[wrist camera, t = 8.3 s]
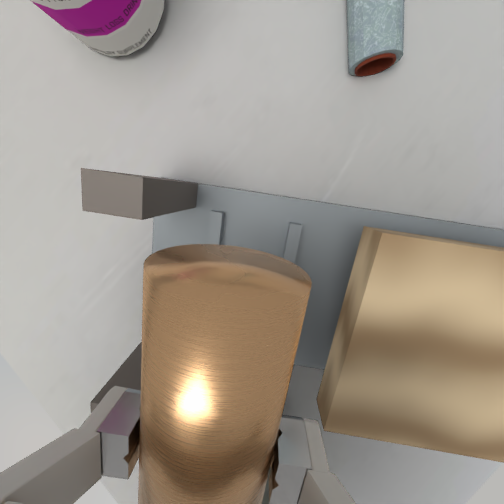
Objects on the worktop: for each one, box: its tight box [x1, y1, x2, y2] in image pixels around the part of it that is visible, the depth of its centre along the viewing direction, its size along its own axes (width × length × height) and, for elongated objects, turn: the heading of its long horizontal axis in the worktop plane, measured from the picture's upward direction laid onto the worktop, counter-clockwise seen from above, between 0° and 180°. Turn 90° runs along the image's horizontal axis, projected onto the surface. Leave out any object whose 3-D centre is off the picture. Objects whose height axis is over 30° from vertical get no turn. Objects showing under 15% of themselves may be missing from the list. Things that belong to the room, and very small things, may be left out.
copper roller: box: [138, 244, 312, 504], centre depth 8 cm, size 12×4×4 cm, turn 172°
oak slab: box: [317, 226, 504, 462], centre depth 15 cm, size 14×16×2 cm
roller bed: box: [81, 168, 504, 413], centre depth 18 cm, size 16×34×10 cm, turn 82°
